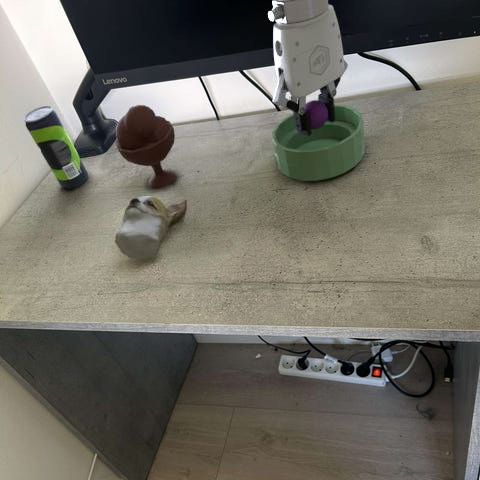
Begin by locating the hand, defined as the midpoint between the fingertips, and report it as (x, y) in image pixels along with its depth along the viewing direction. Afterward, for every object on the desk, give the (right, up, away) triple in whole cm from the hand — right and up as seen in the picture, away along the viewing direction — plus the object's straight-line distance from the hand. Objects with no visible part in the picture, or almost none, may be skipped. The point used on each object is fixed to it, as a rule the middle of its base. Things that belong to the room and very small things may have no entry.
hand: (316, 125), depth 82 cm
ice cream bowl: (-28, -6, +13) cm, 31 cm away
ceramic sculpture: (-27, -19, 0) cm, 33 cm away
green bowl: (+1, -4, +4) cm, 6 cm away
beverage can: (-47, -4, +21) cm, 52 cm away
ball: (0, +1, -1) cm, 2 cm away
